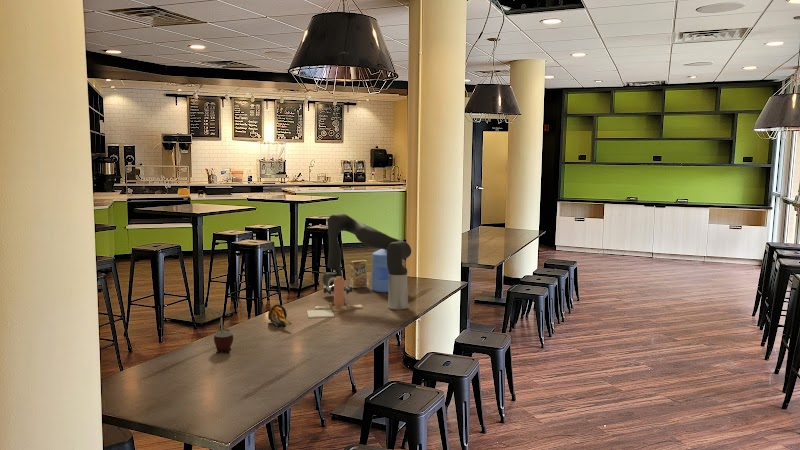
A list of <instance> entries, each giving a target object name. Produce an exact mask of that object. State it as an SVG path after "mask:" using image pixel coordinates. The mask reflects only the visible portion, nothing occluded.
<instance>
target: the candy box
mask: <svg viewBox="0 0 800 450" xmlns="http://www.w3.org/2000/svg"><path fill="white" fill-rule="evenodd" d="M350 285H351V286H352V289H357V288H367V287H368V261H367V260H366V259H359V260H358V259H357V260H350Z"/></svg>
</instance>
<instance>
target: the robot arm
mask: <svg viewBox="0 0 800 450" xmlns="http://www.w3.org/2000/svg"><path fill="white" fill-rule="evenodd" d="M327 232H328V233H327V235H328V236H327V237H328V257H327V268H328V269H330V270H332V271H333V270H334V271H335V272H324V274H323V276H322V283H323V285H322V286H323V288H322V289H323V293H324V294H326V293H327V294H329V295H332V294H333V295H334V278H336V277H337V276H341V278H343V276H342V270H341V269H342V268H341V266H342V250H341V247H340V244H339V243H340V242H339V232H348V233H351V234H353V235H355V238H356V239H357V240H358V241H359V242H360V243H362V244H364V245H366V246H369V247H371V248H375V249H379V250H380V249H385V250H387V267H388V270H389V291H388V292H387V293H388V299H387V300H388V302H387V303H388V304H387V305H388V309H390V310H400V311H401V310H405V309H409V290H408V269H407V267H405V266H403V260H406V259H408V258H409V257H410V256H411V255H412V248H411V245H410V244H409V243H408V242H406V241H404V240H402V239H399V238H395V237H392V236H390V235H388V234H386V233H384V232H382V231H380V230H378V229H375V228H374V227H372V226H369V225H366V223H365V224H364V223H362V222H360V221H357V220H356V219H354V218H352V217H351V216H349V215H348V214H345V213H336V214H331V215H330V216H329V217H328V220H327ZM345 293H346V294H347V295H348V294H350V293H353V288H352V286H351V284H348V285H347V286H346V285H345V284H344V294H345Z"/></svg>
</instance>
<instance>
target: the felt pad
mask: <svg viewBox="0 0 800 450" xmlns="http://www.w3.org/2000/svg"><path fill="white" fill-rule="evenodd" d="M306 313H307V318H308V319H315V318H318V319H319V318H335V314H334V311H332V310H316V309H314V310H313V309H311V310H310V309H307V310H306Z"/></svg>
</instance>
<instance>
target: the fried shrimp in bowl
mask: <svg viewBox="0 0 800 450" xmlns="http://www.w3.org/2000/svg"><path fill="white" fill-rule="evenodd" d="M267 314H268V315H267V316H268V317H267V318H268V320H269V321H270V322H271V323H273V324H274V325H275V326H277V327H279V326H282V327H283V326H286V325H288V326H291V325H292V323H293V322H291V321H289V320H287V316H288V314H287V310H286V308H285V307H284V306H283V305H281V304H277V303H276V304H274V305H273V306H272V307H271V308H270V309H269V311H268V313H267Z"/></svg>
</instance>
